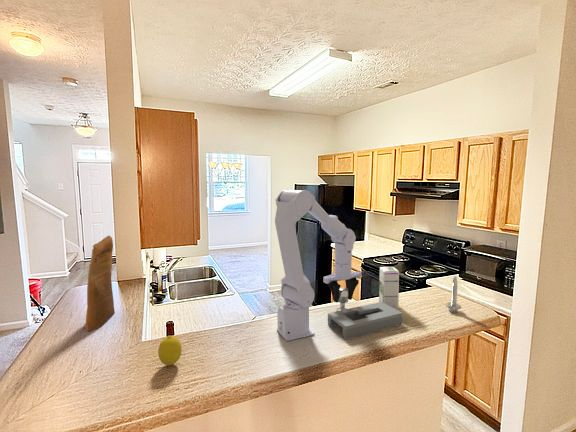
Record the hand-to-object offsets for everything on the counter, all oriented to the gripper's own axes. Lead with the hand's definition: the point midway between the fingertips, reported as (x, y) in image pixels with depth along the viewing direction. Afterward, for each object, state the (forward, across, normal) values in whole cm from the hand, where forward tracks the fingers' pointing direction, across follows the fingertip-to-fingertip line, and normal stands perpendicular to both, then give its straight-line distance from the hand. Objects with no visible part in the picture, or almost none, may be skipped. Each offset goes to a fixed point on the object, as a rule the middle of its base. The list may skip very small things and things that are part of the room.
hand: (342, 300), depth 107 cm
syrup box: (+5, -19, +2) cm, 20 cm away
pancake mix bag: (+5, +77, -30) cm, 83 cm away
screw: (+5, -37, +15) cm, 40 cm away
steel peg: (+5, 0, 0) cm, 5 cm away
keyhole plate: (+5, -2, +10) cm, 11 cm away
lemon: (+5, +57, +7) cm, 58 cm away
